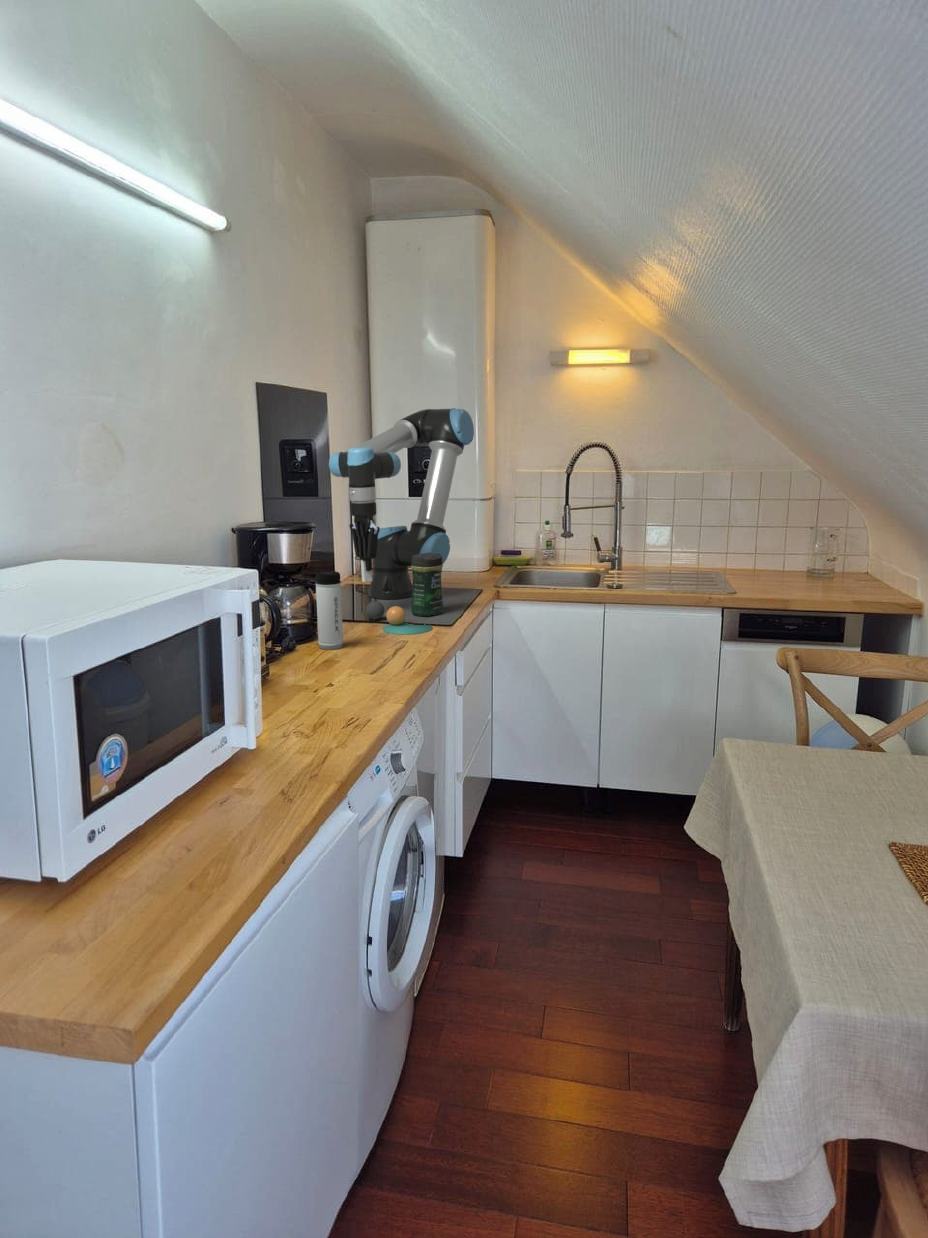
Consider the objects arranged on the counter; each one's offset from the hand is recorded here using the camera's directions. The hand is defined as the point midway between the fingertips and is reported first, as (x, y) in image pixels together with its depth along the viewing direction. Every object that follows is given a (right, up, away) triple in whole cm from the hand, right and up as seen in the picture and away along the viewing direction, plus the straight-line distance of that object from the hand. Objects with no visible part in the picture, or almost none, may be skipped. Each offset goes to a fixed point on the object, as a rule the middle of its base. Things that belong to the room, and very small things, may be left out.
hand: (367, 581), depth 245 cm
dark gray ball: (+3, -9, -4) cm, 10 cm away
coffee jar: (+18, -10, +5) cm, 21 cm away
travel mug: (-6, -19, -34) cm, 39 cm away
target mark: (+13, -14, -14) cm, 24 cm away
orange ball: (+9, -10, -11) cm, 18 cm away
